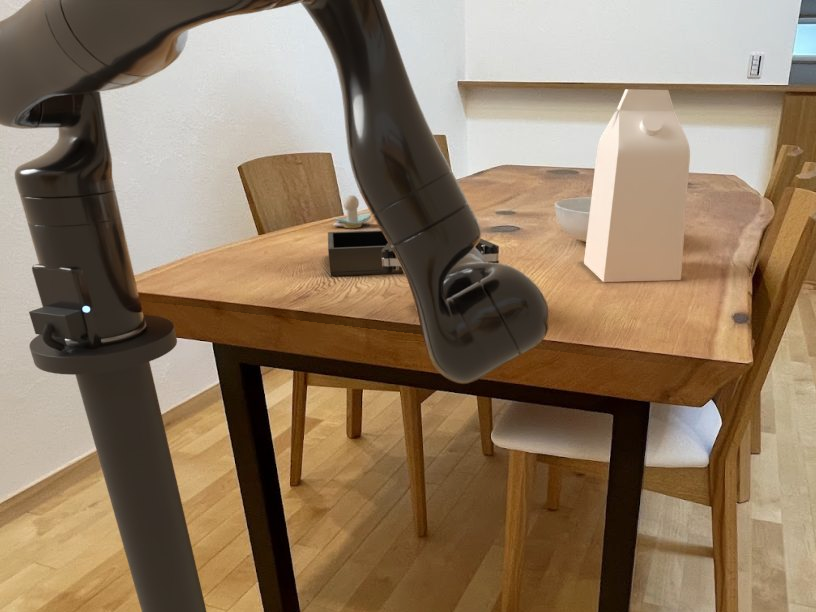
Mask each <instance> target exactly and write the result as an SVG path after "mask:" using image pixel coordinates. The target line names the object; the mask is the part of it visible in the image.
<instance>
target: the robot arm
mask: <svg viewBox="0 0 816 612" xmlns="http://www.w3.org/2000/svg"><path fill="white" fill-rule="evenodd" d="M297 4H301V6H302V7H303V8H304V10H305V11H306V12H307V14H308V15H309V17H310V18H311V19H312V21H313V22H314V24H315V26H316V28H317V29H318V30H319V32H320V34H321V36H322V38H323V40H324V41H325V43H326V46H327V48H328V50H329V53H330V55H331V57H332V60H333V63H334V66H335V69H336V73H337V77H338V82H339V86H340V91H341V100H342V107H343V118H344V130H345V139H346V148H347V153H348V160H349V163H350V168H351V172H352V175H353V178H354V181H355V184H356V186H357V189H358V191H359V194H360V195H361V197H362V200H363V201H364V203H365V205H366V207H367V208H368V210H369V212H370V215H372V218H373V219H374V221H375V223H376V224H377V226H378V228H379V229H380V230H381V231H382V233H383V235H384V236H385V238H386V240H387V242H388V243H387V245H386V246H385V247H384V248H383V249H382V250H381V254H382V269H383V273H387V274H386V275H389V273H390V274H393V273H392V272H394V270H399V266H401V267H402V269H403V272H404V273H403V274H404V277H405V279H406V281H407V284H408V286H409V290H410V292H411V295H412V299H413V302H414V305H415V310H416V312H417V317H418V320H419V325H420V330H421V333H422V337H423V341H424V342H423V343H424V345H425V348H426V352H427V354H428V357H429V359H430V361H431V363H432V365H433V366H434V368H435V369H436V370H437V371H438V373H440V375H442V376H443V377H444V378H446V379H447V380H449V381H451V382H454V383H456V384H461V385H466V384H470V383H473V382H476V381H478V380H479V379H481V378H483V377H485V376H487V375H488V374H490V373H491V372H493V371H495V370H497V369H500V367H502V366H505V365H506V364H508V363H509V362H511V361H513V360H515V359H516V358H518V357H520V355H521V356H522V355H524V354H526V353H527V352H529V351H531V350H533V349H534V348H536V347H537V346H538V345H540V344H541V343H542V341H543V340H544V339H545V337H546V336H547V334H548V332H549V329H550V324H551V314H550V313H551V312H550V308H549V307H550V306H549V304H548V301H547V299H546V297H545V295H544V293H543V292H542V291H541V289H540V287H539V286H538V285H537V284H536V282H534V281H533V280H532V279H531V278H530V277H529V276H528V275H526V274H525V273H524V272H523V271H521V270H519V269H518V268H515V267H513V266H511V265H509V264H504V263H500V246H499V245H498V244H495V243H492V242H490V241H488V240H486V239H484V238H482V228H481V225H480V223H479V220H478V218H477V216H476V213H475V212H474V210H473V208H472V207H471V205H470V203H469V201H468V198H467V197H466V195H465V193H464V191H463V189H462V188H461V186H460V184H459V182H458V180H457V177H456V176H455V174H454V172H453V171H452V168H451V167H450V164H449V162H448V161H447V159H446V157H445V156H444V154H443V152H442V150H441V148H440V146H439V144H438V142H437V140H436V138H435V136H434V134H433V132H432V130H431V128H430V125H429V124H428V121H427V119H426V117H425V114H424V112H423V110H422V108H421V105H420V103H419V101H418V97H417V95H416V93H415V90H414V87H413V84H412V83H411V80H410V77H409V75H408V71H407V69H406V66H405V64H404V60H403V58H402V55H401V51H400V49H399V47H398V44H397V41H396V38H395V34H394V32H393V30H392V26H391V24H390V21H389V18H388V16H387V12H386V10H385V7H384V4H383V2H382V0H29V1H28V2H26V3H25V4H24V5H23V6H22V7H20V8H19V9H18V10H17V11H16V12H14V13H13V14H11V15H10V16H7V17H6V18H4V19H2V20H0V126H4V127H7V128H13V129H18V130H19V129H20V130H21V129H22V130H28V129H31V130H32V129H58V139H57V140H56V143H55V144H54V145H53V146H52V147H51V148H50V149H49V150H47V152H45V153H43V154H42V155H40V156H38V157H36V158H34V159H32V160H29V161H26V162H25V163H23V164H20V165H18V166H17V167H16V168H15V170H14V181H15V185H16V187H17V191H18V194H19V198H20V201H21V205H22V208H23V211H24V215H25V220H26V222H27V226H28V230H29V234H30V236H31V240H32V244H33V248H34V251H35V254H36V258H37V261H38V263H36V264H33V265H32V266H31V271H32V274H33V278H34V281H35V285H36V289H37V292H38V295H39V300H40V303H41V305H42V307H39V308H36V309H33V310H30V311H28V313H29V314H28V315H29V317H30V320H31V324H32V326H33V331H34V334H35V335H42V338H43V341H44V342H45V344H47V345H48V346H49V347H51V348H54V349H57V350H59V351H62V350H63V349H64V348H65V346H72V347H79V348H87V349H97V348H99V347H102V346H106V345H112V344H117V343H121V342H125V341H128V340H131V339H134V338H136V337H138V336H140V335H142V334H143V333H145V332H146V330H147V325H146V321H145V320H144V316H143V315H144V313H143V312H142V310H143V308H142V303H141V298H140V294H139V290H138V286H137V282H136V276H135V273H134V268H133V264H132V260H131V255H130V254H131V253H130V250H129V246H128V242H127V237H126V232H125V229H124V224H123V220H122V219H123V218H122V215H121V210H120V206H119V202H118V197H117V193H116V192H117V191H116V189H115V183H114V179H113V178H114V177H113V158H112V152H111V148H110V143H109V137H108V132H107V125H106V121H105V120H106V119H105V113H104V107H103V103H102V102H103V101H102V94H101V92H106V91H112V90H119V89H124V88H127V87H129V86H133V85H135V84H138V83H141V82H143V81H145V80H147V79H148V78H151V77H153V76H155V75H156V74H158V73H160V72H162V71H164V70H165V69H167V68H168V67H170V66H171V65H172V64H173V63H175V61H177V60H178V58H179V57H180V56H181V54H182V53H183V51H185V50H184V49H185V48H186V44H187V41H188V38H189V37H188V36H189V31H190V30H192V29H194V28H197V27H199V26H202V25H204V24H207V23H210V22H213V21H216V20H220V19H226V18H228V17H234V16H241V15H242V16H243V15H250V14H256V13H261V12H264V11H270V10H275V9H279V8H283V7H288V6H294V5H297Z"/></svg>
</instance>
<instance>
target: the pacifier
mask: <svg viewBox="0 0 816 612" xmlns="http://www.w3.org/2000/svg"><path fill="white" fill-rule="evenodd" d="M359 204H360V202H359V199H358V198H357V196H356V195H353V194H351V195H348V196H347V197H346V198H345V199H344V201H343V206H344V210H346V217H336V216H333V219H334V220H336V221H335V222H334V223H333V224H332V225H333V226H335V227H340V228H341V227H342V228H345V229H357V228H361V227H362V225H363V224H364V223H366V222H368V221H369V220H370V219H371V213H368V212H367V213H361V214H358V208H359Z"/></svg>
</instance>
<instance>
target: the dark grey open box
mask: <svg viewBox="0 0 816 612" xmlns="http://www.w3.org/2000/svg"><path fill="white" fill-rule="evenodd" d="M387 243H388V242H387V240H386V238H385V236H384V235H383V233H382V231H381V229H380V230H354V231H353V230H352V231H350V230H349V231H328V232H327V252H328V263H329V273H330V277H351V276H367V275H389V274H404V272H403V269H402V267H401V266H399V270H394V272H392V273H389V274H387V273H383V269H382V254H381V250H382V249H383V248H384V247H385V246H386V245H387Z"/></svg>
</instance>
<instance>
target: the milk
mask: <svg viewBox="0 0 816 612" xmlns="http://www.w3.org/2000/svg"><path fill="white" fill-rule="evenodd" d="M670 94H671V93H670V91H669V89H638V88H637V89H636V88H635V89H634V88H633V89H630V88H628V89H627V88H626V89H624V91H623V94H622V96H621V99H620V101H619V103H618V106H617V107H616V110H615V111H614V113H613V114H612V117H611V118H610V120H609V122H608V123H607V125H606V127H605V129H604V130H603V133H602V134H601V136H600V138H599V141H598V143H597V148H596V155H595V164H594V171H593V182H592V189H591V190H592V191H591V196H590V197H591V206H590V215H589V223H588V232H587V240H586V242H585V250H584V256H583V257H584V259H583V264H584V265H585V266H586V268H588V270H590V271H591V272H592V273H593V274H594V275H595V276H597V278H598V279H600V280H601V281H602V282H603V283H617V282H620V283H621V282H622V283H623V282H625V283H626V282H654V281H656V282H657V281H658V282H659V281H661V282H662V281H681V280H682V270H683V258H684V257H683V255H684V243H685V229H686V215H687V203H688V202H687V201H688V189H689V175H690V163H691V150H690V149H691V148H690V144H689V141H688V138H687V136H686V133H685V131H684V129H683V127H682V125H681V121H680V120H679V118H678V115H677V113H676V112H675V108H674V104H673V100H672V98H671V95H670Z"/></svg>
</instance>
